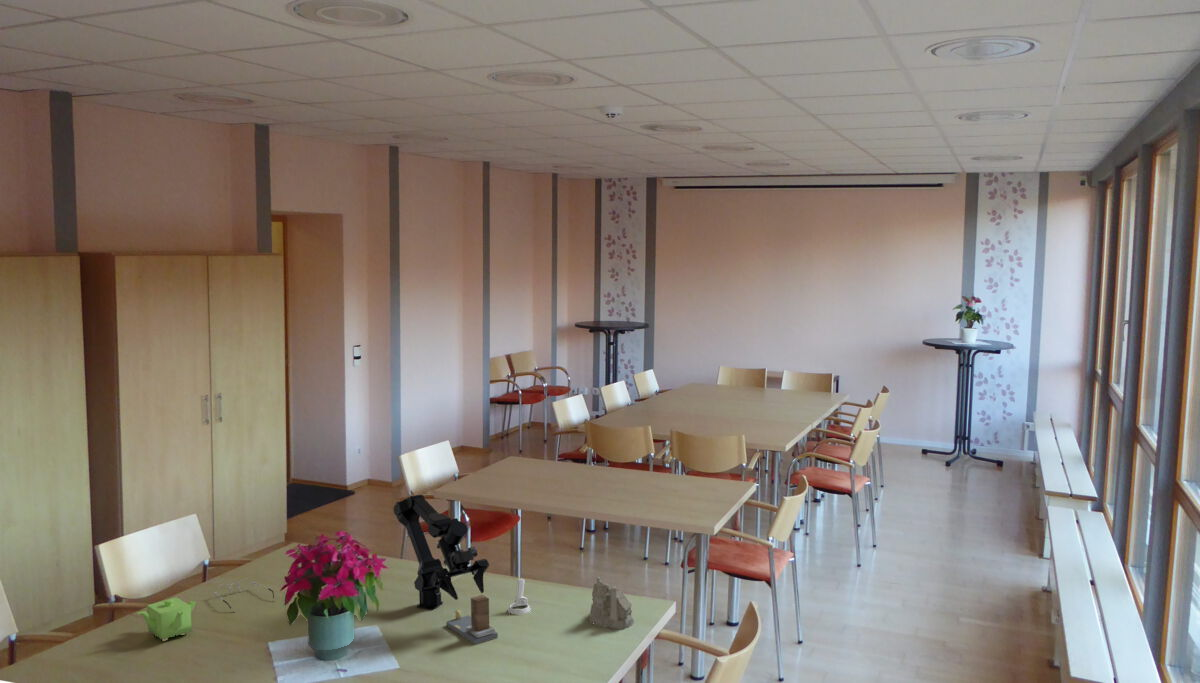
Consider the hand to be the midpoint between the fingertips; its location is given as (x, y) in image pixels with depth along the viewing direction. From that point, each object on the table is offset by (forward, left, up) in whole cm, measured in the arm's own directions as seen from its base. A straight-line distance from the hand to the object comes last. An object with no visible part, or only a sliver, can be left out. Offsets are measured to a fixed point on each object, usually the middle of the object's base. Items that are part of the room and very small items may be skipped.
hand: (470, 595), depth 287 cm
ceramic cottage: (+37, +27, -12) cm, 48 cm away
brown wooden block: (+5, -3, -10) cm, 11 cm away
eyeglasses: (-86, -8, -12) cm, 88 cm away
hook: (+6, +21, -12) cm, 25 cm away
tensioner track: (0, 0, -11) cm, 11 cm away
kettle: (-85, -40, -12) cm, 95 cm away
